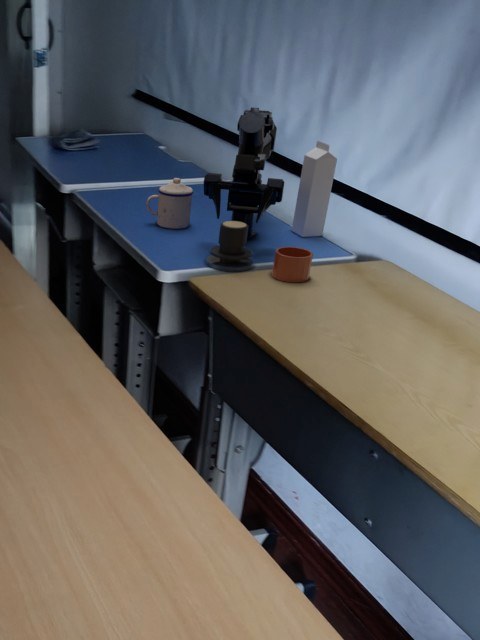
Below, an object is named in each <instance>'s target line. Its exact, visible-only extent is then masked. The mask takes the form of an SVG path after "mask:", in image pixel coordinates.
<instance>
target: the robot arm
mask: <svg viewBox="0 0 480 640" xmlns="http://www.w3.org/2000/svg"><path fill="white" fill-rule="evenodd" d="M272 115H273V112H271V111H269V110H262V109H261V110H260V107H252V106H251V107H250V109H249V110H248V109H245V110H244V111H243V114H241V115H240V116H239V119H238V121H237V124H236V125H237V129H236V130H237V132H238V141H239V142H238V143H239V145H238V151H237V154H236V155H235V161H234V165H233V168H232V173H231V175H232V176H231V178H232V180H226V179H223V174H222V173H217V172H216V173H215V172H207V173H206V174H205V175H204V176H203V177H204V178H203V195H204V196H206V197H208V199H209V200H212V201H213V204H214V209H215V213H216V214H215V215H216V219H217V220H220V216H221V204H222V203H221V201H222V197H221V196H222V190H227V191H228V195H227V202H226V203H227V204H226V211H227V212H231V220H230V221H238V222H243V223H246V224H247V225H248V226H249V227H248V234H247V240H249V239H251V238H253V237H254V236H256V235H257V232H256V231H254V230H253V229H254V223H256V224H258V223H259V221H260V220H261V219H262V217H263V216H264V214H265V213H266V211H267V210H268V209H269V208H270V207H271V206H275V205H276V204H277V203H282V201H283V196H284V189H285V180H284V179H283V178H272V177H268V178H267V182H266V183H263V180H262V178H263V177H262V176H263V175H262V173H261V171H264V170H265V167H266V166H265V165H266V160H268V159H269V158H270V157H271V154H272V152H274V151H275V146H276V139H277V129H278V127H277V126H276V125H275V122H274V118H273V117H272ZM255 215H256V220H255Z"/></svg>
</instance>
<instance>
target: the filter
mask: <svg viewBox="0 0 480 640" xmlns="http://www.w3.org/2000/svg"><path fill="white" fill-rule="evenodd" d="M248 227H249V226H248V225H247V224H246V223H243V222H238V221H231V220H226V221H222V222H221V223H220V226H219V234H218V241H217V242H218V245H216V246H213V247H211V248H210V251H209V253H210V256H211V255H213V256H215V257H217V258H220V261H221V262H223V263H228V264H236V263H239V262H240V260H244V259H248V258H250V259H251V257H252V256H253V255H252V254H253V252H252V251H251V250H250V249H249V248H246V247H245V246H246V245H247V240H248V239H247V234H248Z"/></svg>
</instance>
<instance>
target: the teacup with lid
mask: <svg viewBox="0 0 480 640" xmlns="http://www.w3.org/2000/svg"><path fill="white" fill-rule="evenodd" d="M181 181H182V180H181V178H179V177H174V178H173V179H172V181H170V182H168V183H166V184H164V185H161V186H160V187H159V188H158V194H153V195H150V196H148V198H147V199H146V208H147V209H146V210H147V211H148V212H149V214H151V215H154V216H157V217H156V224H157V225H158V226H159V227H161V228H164V229H172V230H179V229H185V228H188V227H189V226H190V219H191V211H192V200H193V194H194V190H193V188H192V187H190V186H188V185H187V184H185V183H184V182H181ZM153 199H158V204H157V211H154V210H153V209H152V208H151V207H150V202H151V200H153Z"/></svg>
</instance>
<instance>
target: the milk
mask: <svg viewBox="0 0 480 640" xmlns="http://www.w3.org/2000/svg"><path fill="white" fill-rule="evenodd" d="M329 151H330V144H327V143H325V142H322V141H321V140H317V141H316V145H315V147H314V148H312V149H311V150H309V151H307V152H306V153H304V155H303V156H304V157H303V161H302V168H301V173H300V179H299V185H298V192H297V195H296V196H297V197H296V203H295V208H294V213H293V220H292V225H291V231H292V232H293V233H294V234H296V235H298V236H300V237H301V238H312V237H323V234H324V229H325V224H326V219H327V214H328V210H329V209H328V208H329V203H330V199H331V193H332V188H333V182H334V179H335V173H336V168H337V163H338V158H337V157H336V156H335V155H334V154H332V153H331V152H329Z"/></svg>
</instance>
